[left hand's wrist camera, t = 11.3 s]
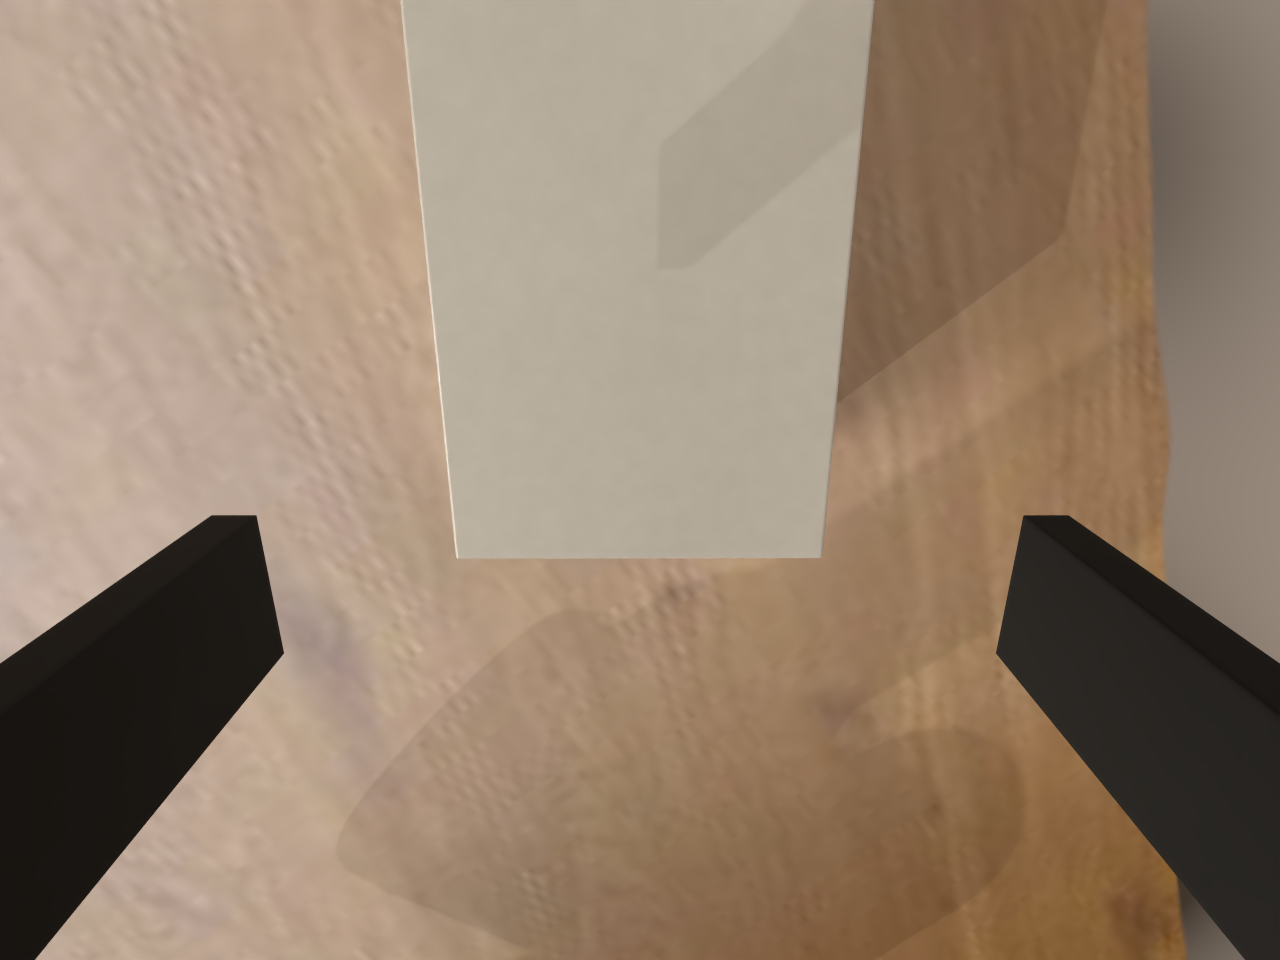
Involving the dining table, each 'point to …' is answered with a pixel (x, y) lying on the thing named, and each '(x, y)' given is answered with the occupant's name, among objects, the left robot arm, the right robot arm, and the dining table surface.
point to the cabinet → (638, 267)
